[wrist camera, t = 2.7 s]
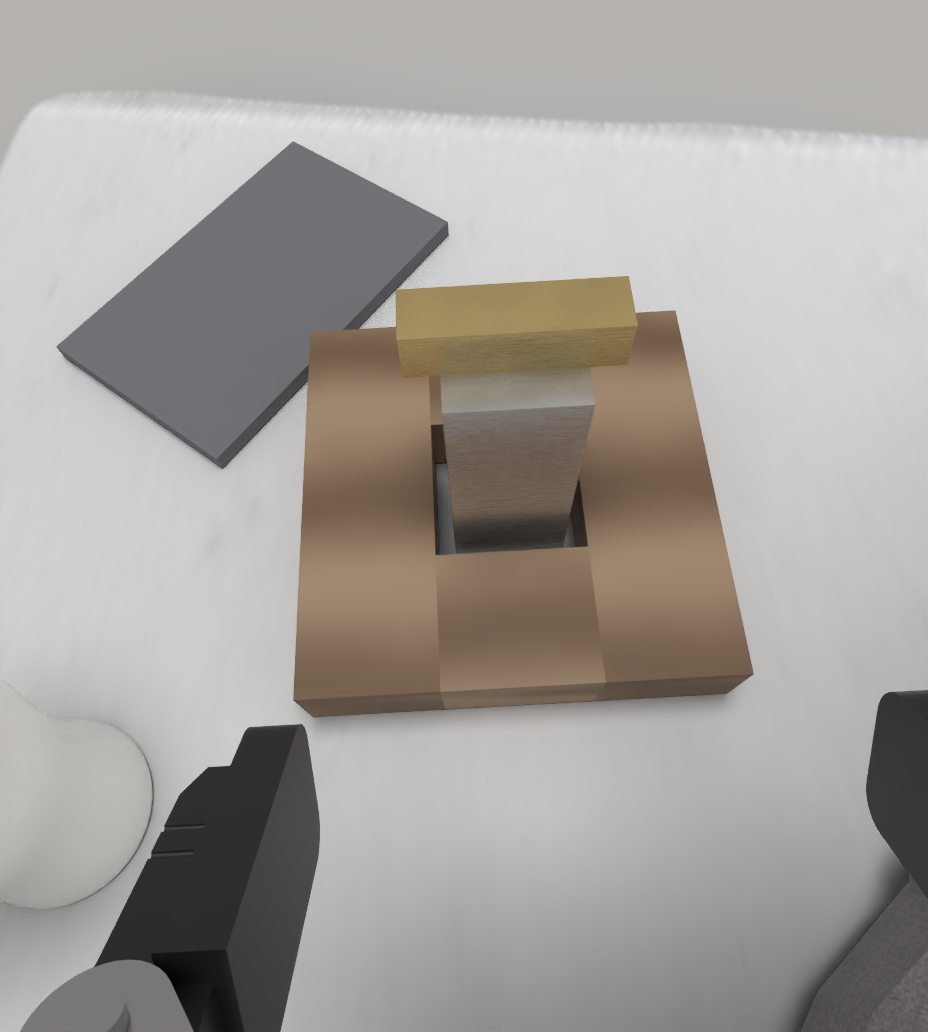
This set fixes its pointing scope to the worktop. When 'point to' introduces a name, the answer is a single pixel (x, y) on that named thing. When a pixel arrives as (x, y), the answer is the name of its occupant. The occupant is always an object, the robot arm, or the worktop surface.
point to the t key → (515, 395)
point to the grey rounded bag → (880, 975)
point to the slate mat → (253, 299)
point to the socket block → (508, 574)
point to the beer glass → (65, 804)
